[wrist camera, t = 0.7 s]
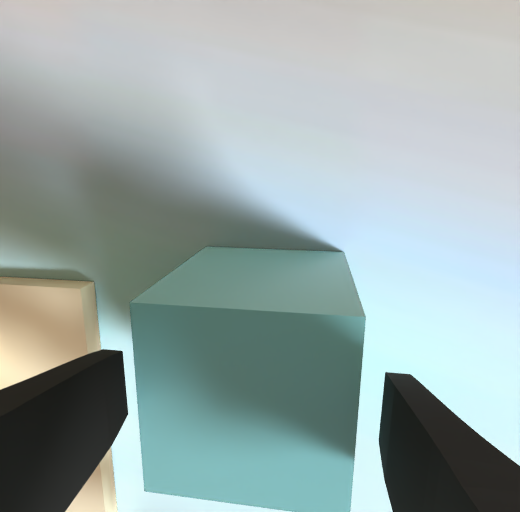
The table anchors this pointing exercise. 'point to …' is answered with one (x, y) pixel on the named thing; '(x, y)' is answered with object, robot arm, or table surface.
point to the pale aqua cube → (251, 378)
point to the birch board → (53, 352)
